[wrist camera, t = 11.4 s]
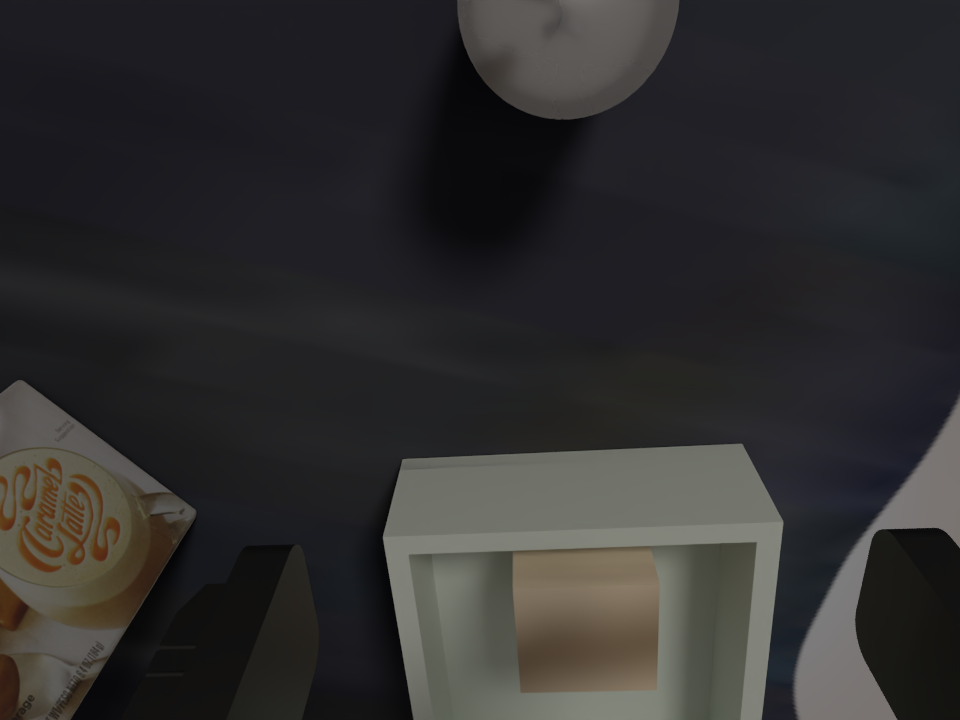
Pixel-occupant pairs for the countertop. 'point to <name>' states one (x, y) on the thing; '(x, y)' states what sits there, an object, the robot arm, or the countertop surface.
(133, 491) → the coffee box
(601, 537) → the tote
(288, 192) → the countertop surface
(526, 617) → the beech cube
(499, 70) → the grey metal cylinder
